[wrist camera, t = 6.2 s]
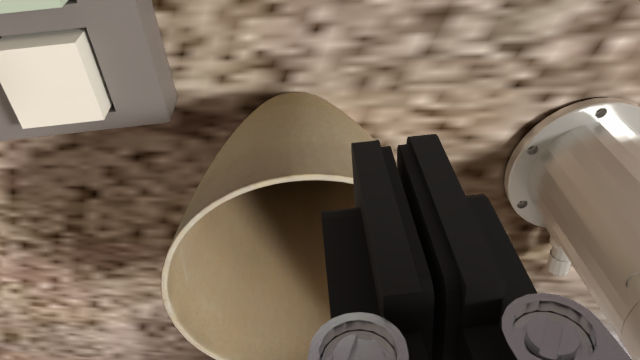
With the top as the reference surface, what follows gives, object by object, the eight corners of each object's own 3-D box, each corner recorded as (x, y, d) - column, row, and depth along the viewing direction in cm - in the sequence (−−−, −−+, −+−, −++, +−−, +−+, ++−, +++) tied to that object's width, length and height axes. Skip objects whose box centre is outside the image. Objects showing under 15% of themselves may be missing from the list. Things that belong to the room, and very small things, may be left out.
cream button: (113, 100, 35) (104, 119, 33) (36, 109, 35) (22, 128, 33) (87, 26, 32) (75, 42, 30) (3, 35, 32) (-15, 52, 30)
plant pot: (428, 144, 42) (498, 302, 29) (280, 235, 46) (285, 406, 33) (316, -8, 34) (346, 116, 21) (152, 119, 38) (94, 284, 26)
